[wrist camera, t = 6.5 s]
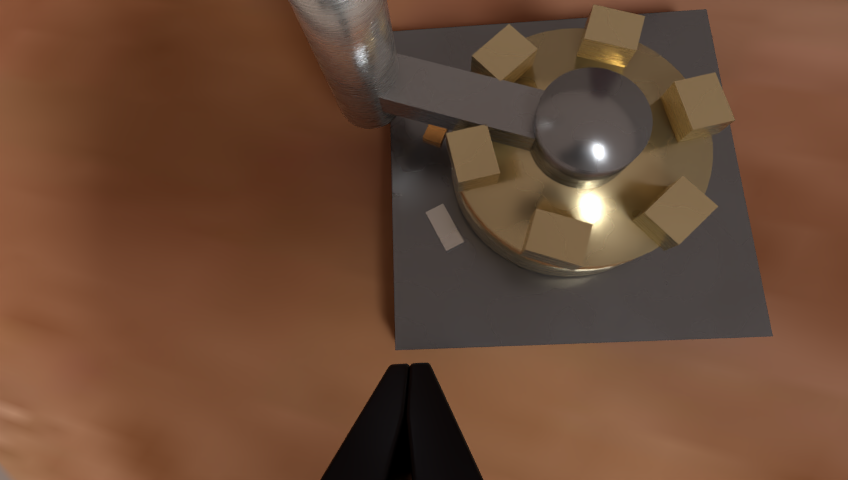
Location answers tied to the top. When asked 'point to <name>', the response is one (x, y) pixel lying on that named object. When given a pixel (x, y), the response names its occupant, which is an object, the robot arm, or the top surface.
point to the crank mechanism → (542, 131)
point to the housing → (556, 295)
